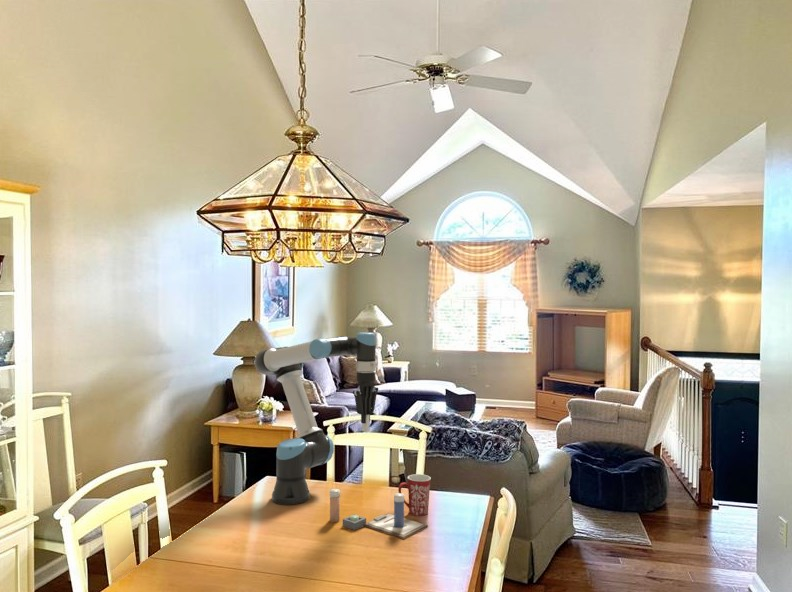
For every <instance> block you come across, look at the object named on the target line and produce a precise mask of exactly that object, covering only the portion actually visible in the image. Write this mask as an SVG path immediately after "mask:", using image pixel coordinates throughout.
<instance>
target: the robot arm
mask: <svg viewBox="0 0 792 592" xmlns="http://www.w3.org/2000/svg"><path fill="white" fill-rule="evenodd" d="M376 341H377V338H376V334H375V333H374V332H367V331H366V332H363V331H362V332H358V333H356V336H348V335H347V336H346V335H339V336H335V337H319V338H314V339H313V340H311V341H306V342H303V343H299V344H294V345H291V346H282V347H280V346H279V347H270V348H269V347H268V348H264V349H262V350H260V351H258V353H256V355H255V357H254V366H255V369H256V370H257V371H258V372H259V373H260V374H262V375H265V376H273V375H274V376H275V378H276V381H277V382H279V383H281V385H282V388H283V392H284V394H285V396H286V400H287V402H288V403H287V404H288V406H289V409H290V411H291V415H292V418H293V421H294V424H295V427H296V430H297V433H298V435H297V437H294V438H287V439H284V440H282V441H280V442H279V443H278V445H277V446H276V454H275V455H276V456H275V457H276V480H275V484H274V488H273V491H272V494H271V501H272V503H275V504H278V505H283V506H285V505H286V506H293V505H299V504H303V503H305V502H307V501H308V500H310V493H311V492H310V490H309V487H308V484H307V479H306V470H308V469H311V468H314V467H317V466H322V465H324V464H326V463H328V462H329V461H330V460H332V457H333V454H334V452H335V447H334V445H335V444H334V442H333V439H332V438H331V437H330V436H329V435H327V434H325V432H324V431H323V429H322V428H320V427H318V424H317V421H316V417H315V415H314V413H313V410H312V405H311V404H310V401H309V397H308V395H307V392H306V389H305V386H304V383H303V380H302V377H301V376H302V373H303V367H304V363H307V362H311V361H316V360H321V359H325V358H332V357H333V358H334V357H341V356H355V357H356V366H355V367H356V369H355V370H356V376H355V377H356V382H357V386H356V389H355V390H352V394H353V396H354V402H355V407H356V413H357V414H358V415H360V422H361V431H362V432H365V433H367V432H370V423H371V416H372V415H373V413H374V412H375V408H376V400H377V394H378V393H379V392H378V391H379V388H378V387H377V386H375V383H374V382H376V372H375V371H376V350H377V348H376V347H377V342H376Z"/></svg>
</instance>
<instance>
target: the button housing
mask: <svg viewBox="0 0 792 592" xmlns="http://www.w3.org/2000/svg"><path fill="white" fill-rule="evenodd" d="M352 515H353V514H352ZM352 515H350V516H352ZM356 515H357V516H359V520H358V521H355V522H354V521H351V520H350V516H349V515H348V516H347V517H344V518H342V526H343V527H344V528H347V529H349V530H353V531H356V530H359V529H361V528H363V527H365V526H364V524H365V523H367V518H366V517H364V516H360V515H358V514H356Z"/></svg>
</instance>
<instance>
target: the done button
mask: <svg viewBox="0 0 792 592" xmlns="http://www.w3.org/2000/svg"><path fill="white" fill-rule="evenodd" d="M357 515H358V514H352V516H351V515H350V520H351V521H354V522H355V521H358V520H359V516H360V515H358V516H357Z"/></svg>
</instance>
